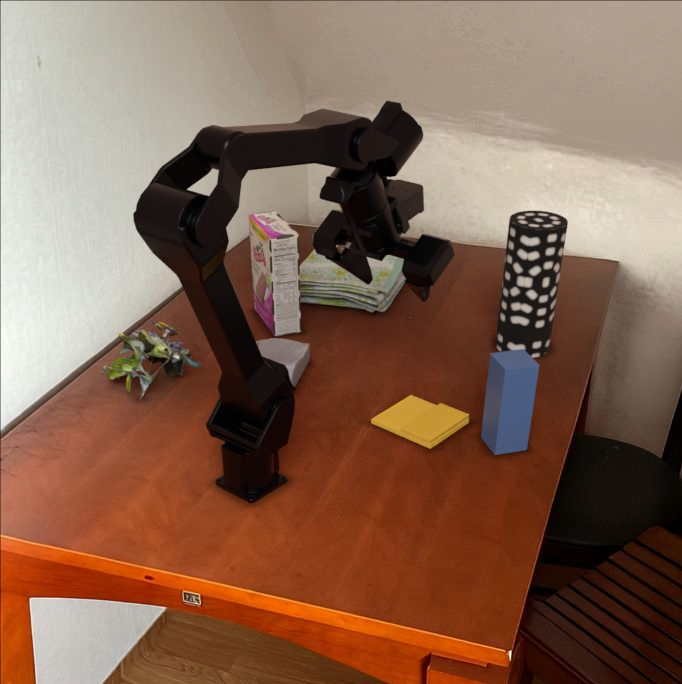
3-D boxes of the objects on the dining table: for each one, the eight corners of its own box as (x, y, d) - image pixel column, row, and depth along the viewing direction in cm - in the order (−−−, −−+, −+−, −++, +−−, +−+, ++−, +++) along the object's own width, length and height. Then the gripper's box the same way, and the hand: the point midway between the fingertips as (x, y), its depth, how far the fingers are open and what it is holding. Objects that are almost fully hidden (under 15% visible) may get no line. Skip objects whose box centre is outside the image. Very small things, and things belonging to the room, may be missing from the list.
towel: (281, 304, 160) (281, 275, 157) (321, 260, 176) (320, 233, 173) (385, 318, 155) (386, 289, 152) (415, 272, 172) (417, 244, 169)
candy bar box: (252, 310, 157) (246, 213, 148) (280, 306, 159) (277, 209, 149) (272, 338, 149) (268, 237, 139) (302, 333, 151) (300, 232, 141)
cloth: (430, 449, 123) (430, 440, 122) (370, 423, 128) (371, 415, 127) (469, 422, 129) (469, 414, 128) (410, 398, 134) (411, 390, 133)
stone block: (231, 401, 136) (296, 396, 133) (223, 370, 134) (289, 365, 131) (254, 366, 146) (316, 361, 143) (247, 338, 143) (309, 331, 141)
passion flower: (173, 408, 142) (216, 351, 136) (140, 432, 132) (184, 371, 126) (116, 359, 141) (156, 299, 135) (78, 379, 131) (120, 315, 126)
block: (494, 455, 122) (505, 369, 115) (480, 437, 125) (490, 353, 118) (527, 450, 123) (539, 364, 116) (512, 432, 127) (523, 348, 119)
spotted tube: (485, 339, 150) (499, 214, 138) (531, 331, 152) (548, 208, 140) (511, 361, 143) (527, 232, 131) (558, 353, 146) (579, 226, 134)
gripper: (464, 171, 111) (487, 263, 124) (340, 143, 120) (373, 231, 133) (415, 240, 108) (444, 326, 121) (291, 206, 117) (330, 289, 130)
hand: (397, 290), depth 126 cm, fingers open, 9 cm apart
